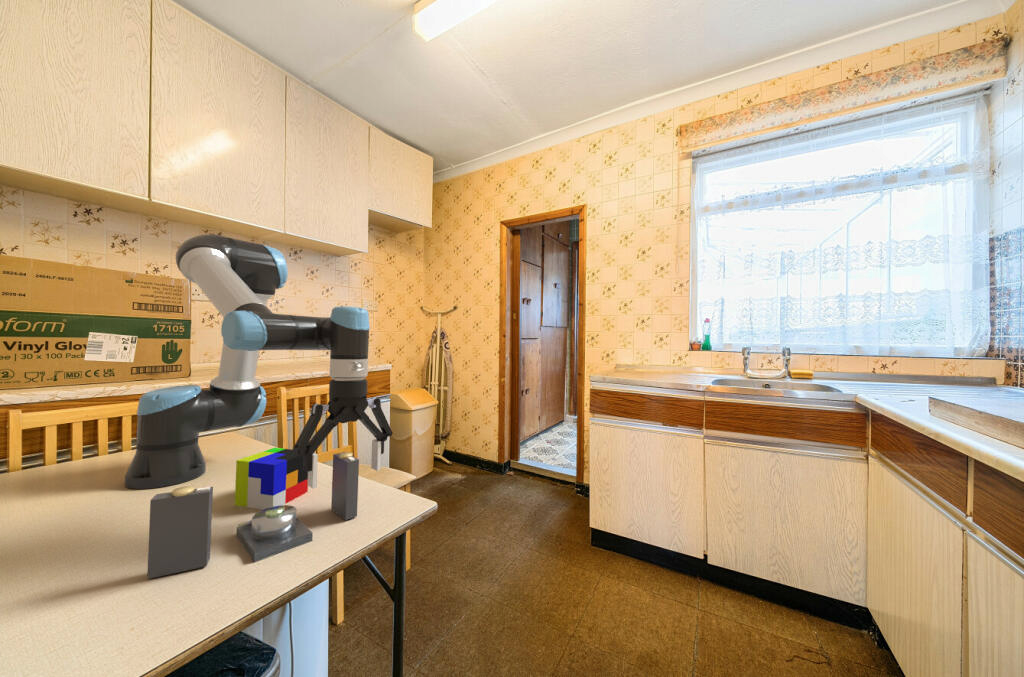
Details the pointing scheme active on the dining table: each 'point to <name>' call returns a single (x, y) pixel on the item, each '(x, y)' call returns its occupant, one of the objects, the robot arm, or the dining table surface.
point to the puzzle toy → (270, 478)
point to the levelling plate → (275, 543)
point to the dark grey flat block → (179, 530)
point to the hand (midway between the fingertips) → (346, 477)
